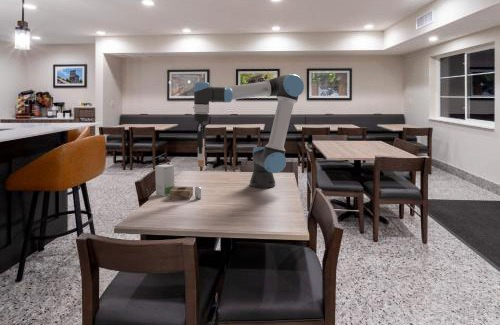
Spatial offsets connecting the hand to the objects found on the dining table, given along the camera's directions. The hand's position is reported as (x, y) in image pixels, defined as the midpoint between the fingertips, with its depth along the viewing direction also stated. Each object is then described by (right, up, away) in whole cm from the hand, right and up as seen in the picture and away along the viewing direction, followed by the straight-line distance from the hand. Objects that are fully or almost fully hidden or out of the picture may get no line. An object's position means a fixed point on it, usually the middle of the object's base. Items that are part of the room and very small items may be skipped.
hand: (201, 159), depth 189 cm
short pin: (-1, -20, -3) cm, 20 cm away
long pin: (0, -4, +1) cm, 4 cm away
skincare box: (-20, -19, +6) cm, 28 cm away
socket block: (-10, -20, 0) cm, 22 cm away
